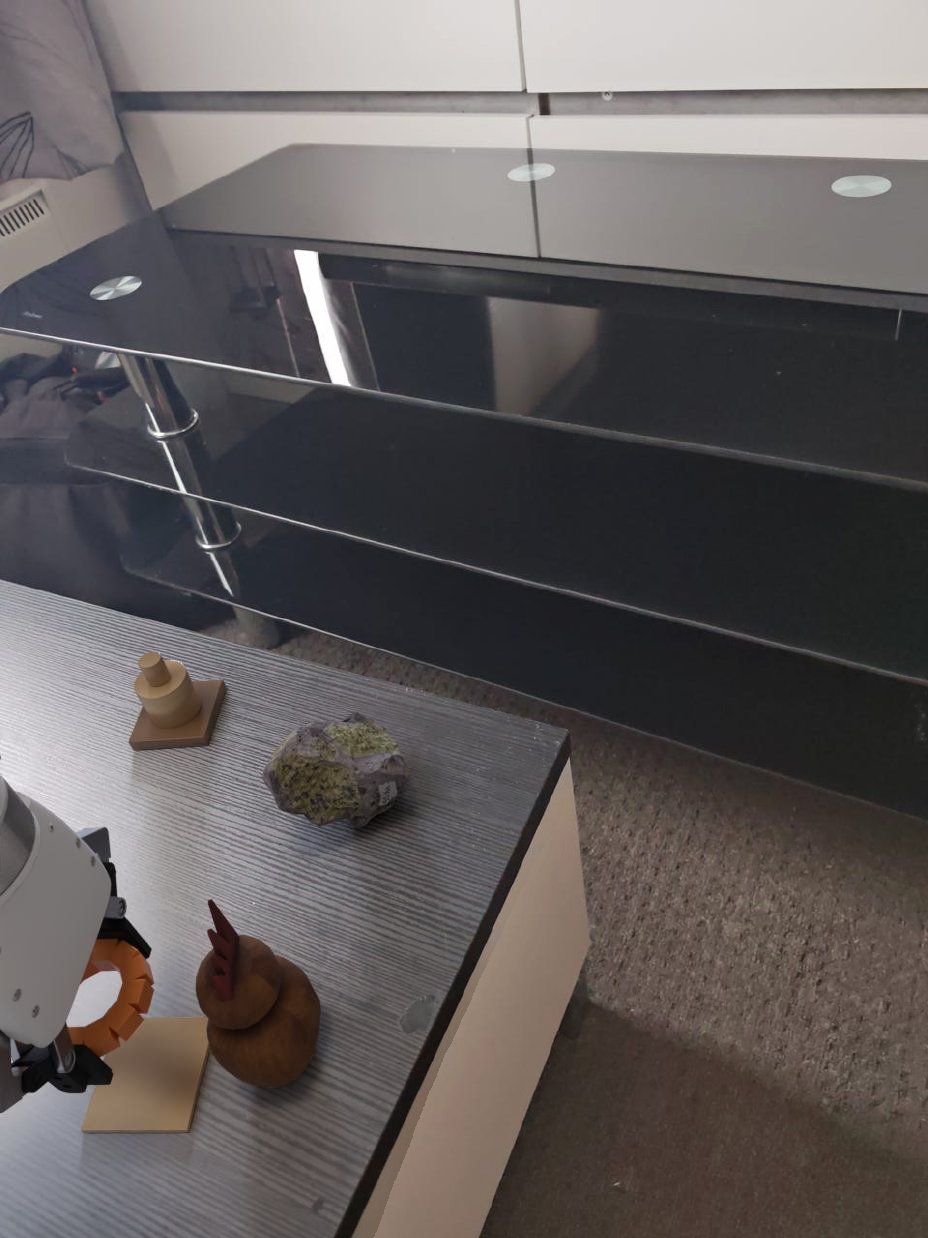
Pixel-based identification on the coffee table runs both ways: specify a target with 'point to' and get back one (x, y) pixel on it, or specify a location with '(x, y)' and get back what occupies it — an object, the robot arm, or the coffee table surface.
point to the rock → (337, 771)
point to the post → (173, 705)
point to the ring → (130, 999)
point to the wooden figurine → (256, 1008)
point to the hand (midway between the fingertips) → (108, 1014)
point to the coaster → (152, 1079)
